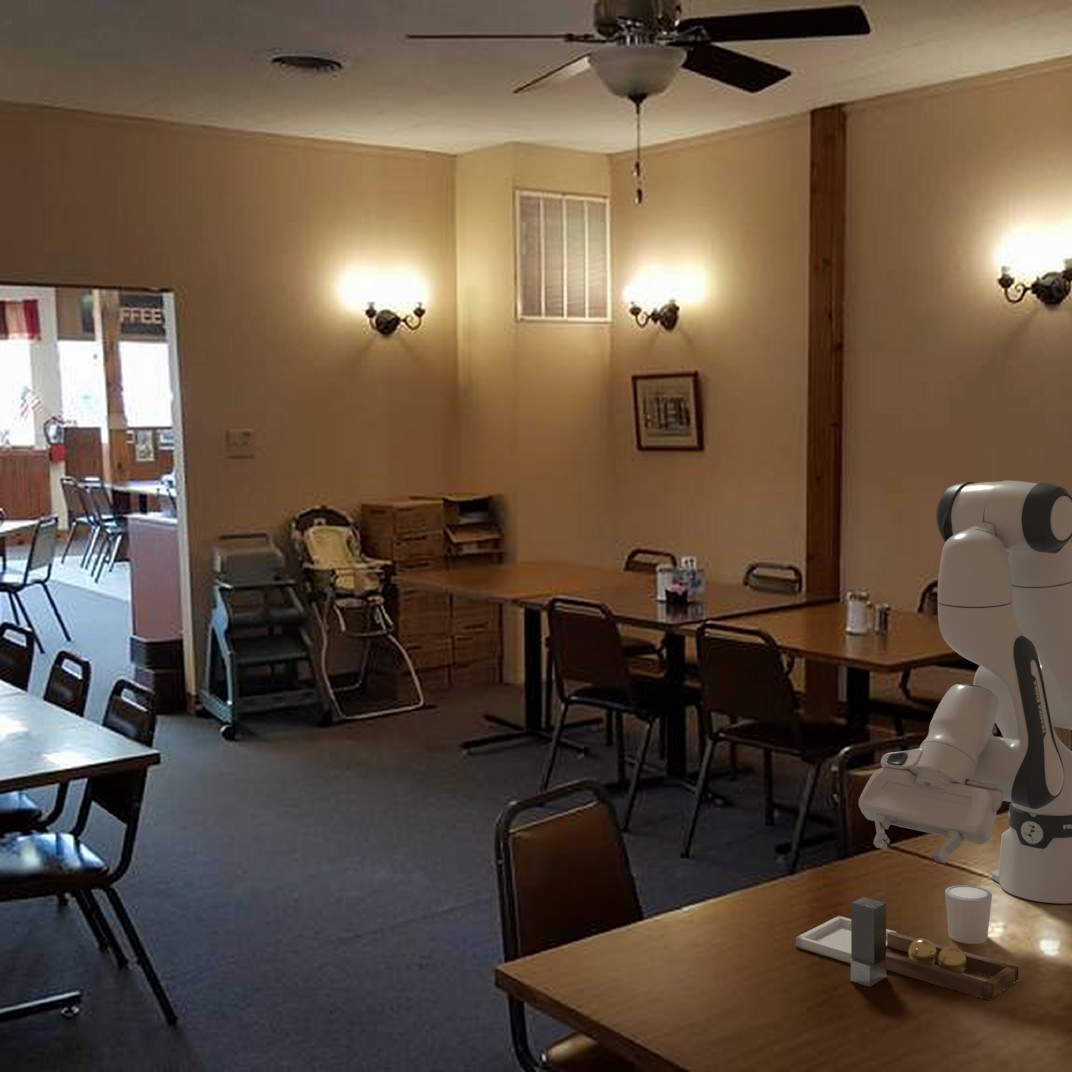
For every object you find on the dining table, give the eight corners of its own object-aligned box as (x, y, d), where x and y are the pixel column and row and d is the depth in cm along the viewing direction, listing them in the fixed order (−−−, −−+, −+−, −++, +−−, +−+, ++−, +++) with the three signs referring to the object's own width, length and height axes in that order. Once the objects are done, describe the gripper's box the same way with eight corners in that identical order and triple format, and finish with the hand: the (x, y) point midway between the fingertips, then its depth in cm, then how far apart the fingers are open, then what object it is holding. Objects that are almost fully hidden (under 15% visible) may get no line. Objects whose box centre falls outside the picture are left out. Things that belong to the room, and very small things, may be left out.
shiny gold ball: (916, 958, 191) (917, 932, 191) (942, 966, 189) (942, 939, 188) (903, 967, 189) (903, 940, 188) (928, 974, 186) (928, 947, 186)
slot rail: (891, 944, 197) (891, 931, 197) (1018, 980, 183) (1018, 966, 183) (860, 961, 191) (860, 948, 191) (989, 1000, 177) (989, 986, 177)
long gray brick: (865, 970, 188) (865, 895, 187) (888, 977, 185) (888, 901, 184) (848, 980, 184) (848, 903, 184) (871, 987, 182) (871, 910, 181)
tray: (838, 925, 205) (838, 915, 205) (896, 941, 198) (896, 931, 198) (795, 946, 197) (795, 937, 197) (854, 964, 190) (854, 954, 190)
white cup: (994, 946, 196) (995, 901, 195) (946, 944, 197) (947, 898, 196) (988, 929, 202) (988, 885, 202) (942, 927, 204) (942, 883, 203)
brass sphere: (945, 967, 188) (945, 940, 188) (971, 974, 186) (972, 947, 185) (932, 975, 185) (932, 948, 185) (958, 983, 183) (958, 955, 182)
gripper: (1014, 799, 192) (982, 880, 186) (888, 775, 207) (855, 850, 200) (1000, 774, 189) (968, 856, 183) (874, 752, 203) (839, 827, 197)
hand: (908, 853), depth 192 cm, fingers open, 8 cm apart
